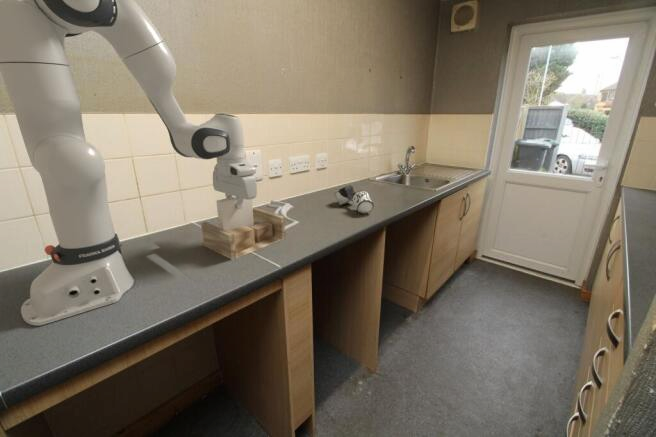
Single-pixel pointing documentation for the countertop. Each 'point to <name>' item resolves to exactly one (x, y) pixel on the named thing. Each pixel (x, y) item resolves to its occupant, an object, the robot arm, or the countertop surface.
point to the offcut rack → (225, 240)
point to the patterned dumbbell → (355, 199)
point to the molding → (283, 211)
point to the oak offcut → (243, 238)
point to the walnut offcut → (262, 231)
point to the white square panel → (234, 213)
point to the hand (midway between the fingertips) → (235, 207)
